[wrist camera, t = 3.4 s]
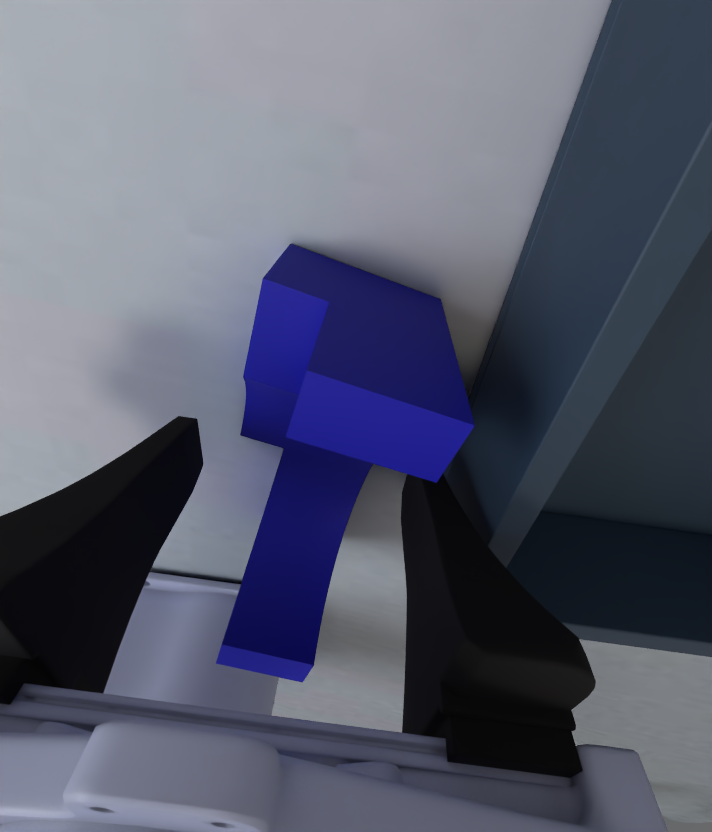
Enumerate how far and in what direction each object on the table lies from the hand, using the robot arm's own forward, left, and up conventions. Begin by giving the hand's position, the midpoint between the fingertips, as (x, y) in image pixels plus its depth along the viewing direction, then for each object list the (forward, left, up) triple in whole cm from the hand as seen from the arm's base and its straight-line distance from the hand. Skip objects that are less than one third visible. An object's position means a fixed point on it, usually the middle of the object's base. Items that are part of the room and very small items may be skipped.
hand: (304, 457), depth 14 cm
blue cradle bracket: (0, 0, -2) cm, 2 cm away
